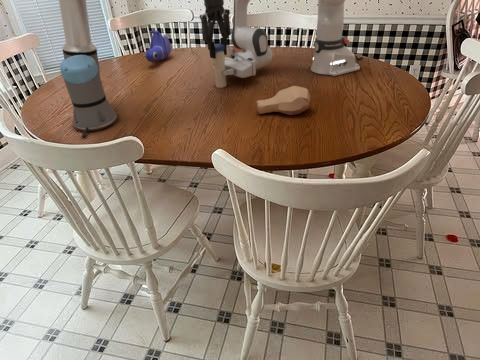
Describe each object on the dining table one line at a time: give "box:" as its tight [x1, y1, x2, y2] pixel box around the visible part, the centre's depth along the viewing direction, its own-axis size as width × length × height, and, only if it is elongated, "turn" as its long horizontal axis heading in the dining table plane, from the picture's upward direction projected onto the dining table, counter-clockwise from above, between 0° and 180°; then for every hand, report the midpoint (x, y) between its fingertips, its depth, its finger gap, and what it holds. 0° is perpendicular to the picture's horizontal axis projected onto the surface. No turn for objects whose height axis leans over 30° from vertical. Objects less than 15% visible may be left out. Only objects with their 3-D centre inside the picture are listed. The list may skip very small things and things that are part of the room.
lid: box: [214, 43, 225, 52], centre depth 147 cm, size 6×6×2 cm
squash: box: [255, 85, 312, 116], centre depth 130 cm, size 11×20×9 cm, turn 92°
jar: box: [212, 51, 228, 89], centre depth 152 cm, size 5×5×16 cm
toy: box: [144, 30, 172, 67], centre depth 185 cm, size 10×17×25 cm
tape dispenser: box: [227, 44, 246, 57], centre depth 185 cm, size 18×5×20 cm
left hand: (218, 55), depth 149 cm, fingers closed on lid, 5 cm apart
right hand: (218, 71), depth 152 cm, fingers closed on jar, 5 cm apart
